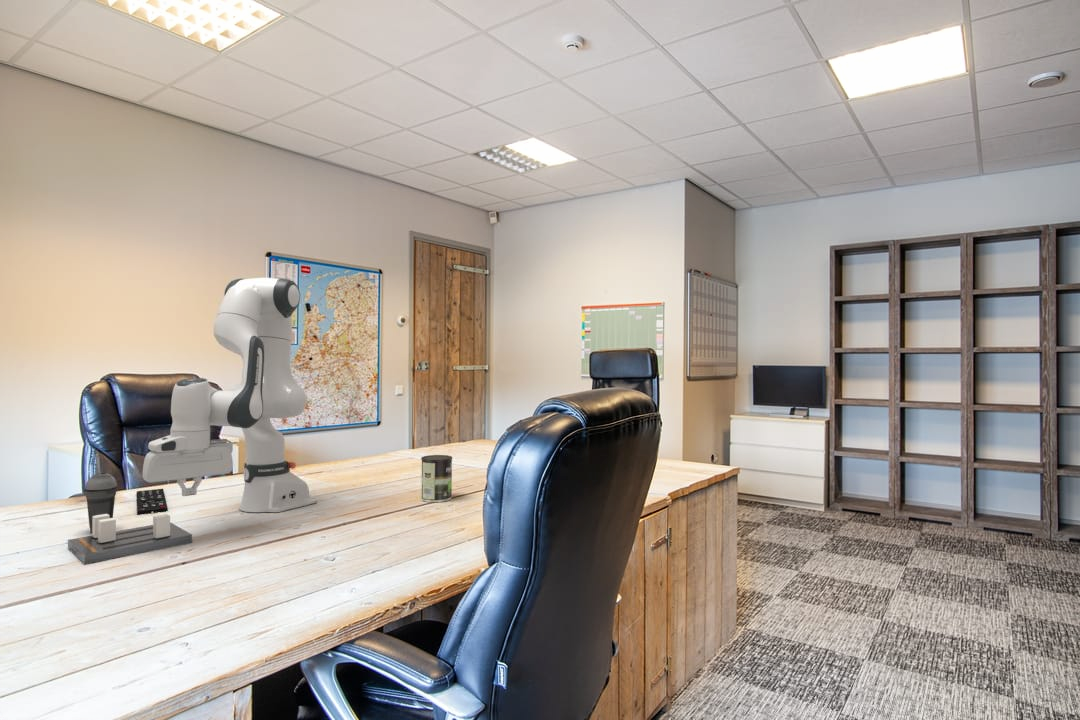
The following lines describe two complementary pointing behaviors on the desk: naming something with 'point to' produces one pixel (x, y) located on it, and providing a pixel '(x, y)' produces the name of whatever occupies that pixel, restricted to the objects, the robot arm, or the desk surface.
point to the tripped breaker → (161, 526)
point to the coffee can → (436, 478)
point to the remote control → (151, 501)
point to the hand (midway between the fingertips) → (189, 495)
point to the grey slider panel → (126, 543)
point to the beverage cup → (100, 494)
